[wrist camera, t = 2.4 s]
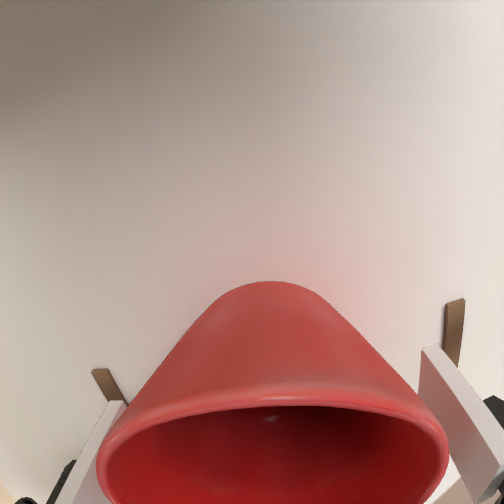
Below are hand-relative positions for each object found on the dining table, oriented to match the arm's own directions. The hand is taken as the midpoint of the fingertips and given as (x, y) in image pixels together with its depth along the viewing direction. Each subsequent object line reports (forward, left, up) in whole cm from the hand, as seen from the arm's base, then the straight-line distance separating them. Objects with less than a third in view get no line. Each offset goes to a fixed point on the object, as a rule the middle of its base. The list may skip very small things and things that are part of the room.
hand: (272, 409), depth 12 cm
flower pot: (0, 0, -4) cm, 4 cm away
